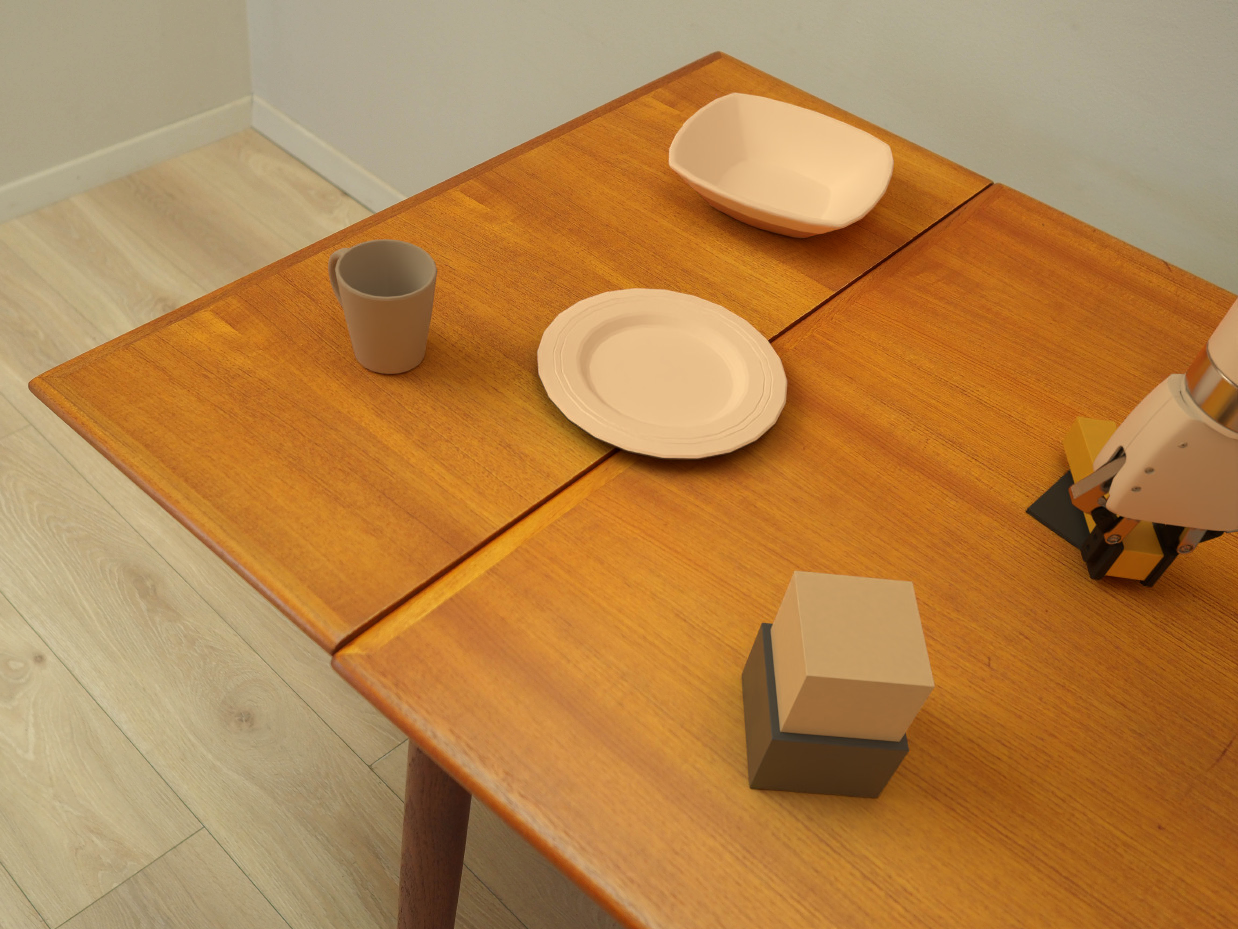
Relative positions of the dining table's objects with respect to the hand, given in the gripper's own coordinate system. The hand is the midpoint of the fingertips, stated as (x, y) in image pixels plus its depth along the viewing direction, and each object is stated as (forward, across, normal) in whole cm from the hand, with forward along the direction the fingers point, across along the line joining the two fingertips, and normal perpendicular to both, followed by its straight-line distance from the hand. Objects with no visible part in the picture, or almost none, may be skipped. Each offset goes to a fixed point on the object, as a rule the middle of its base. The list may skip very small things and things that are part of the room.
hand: (1116, 566), depth 79 cm
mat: (+1, 0, -6) cm, 6 cm away
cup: (+1, +58, -14) cm, 60 cm away
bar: (0, 0, -6) cm, 6 cm away
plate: (+1, +35, -14) cm, 38 cm away
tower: (+1, +24, +17) cm, 30 cm away
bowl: (+1, +25, -45) cm, 52 cm away
